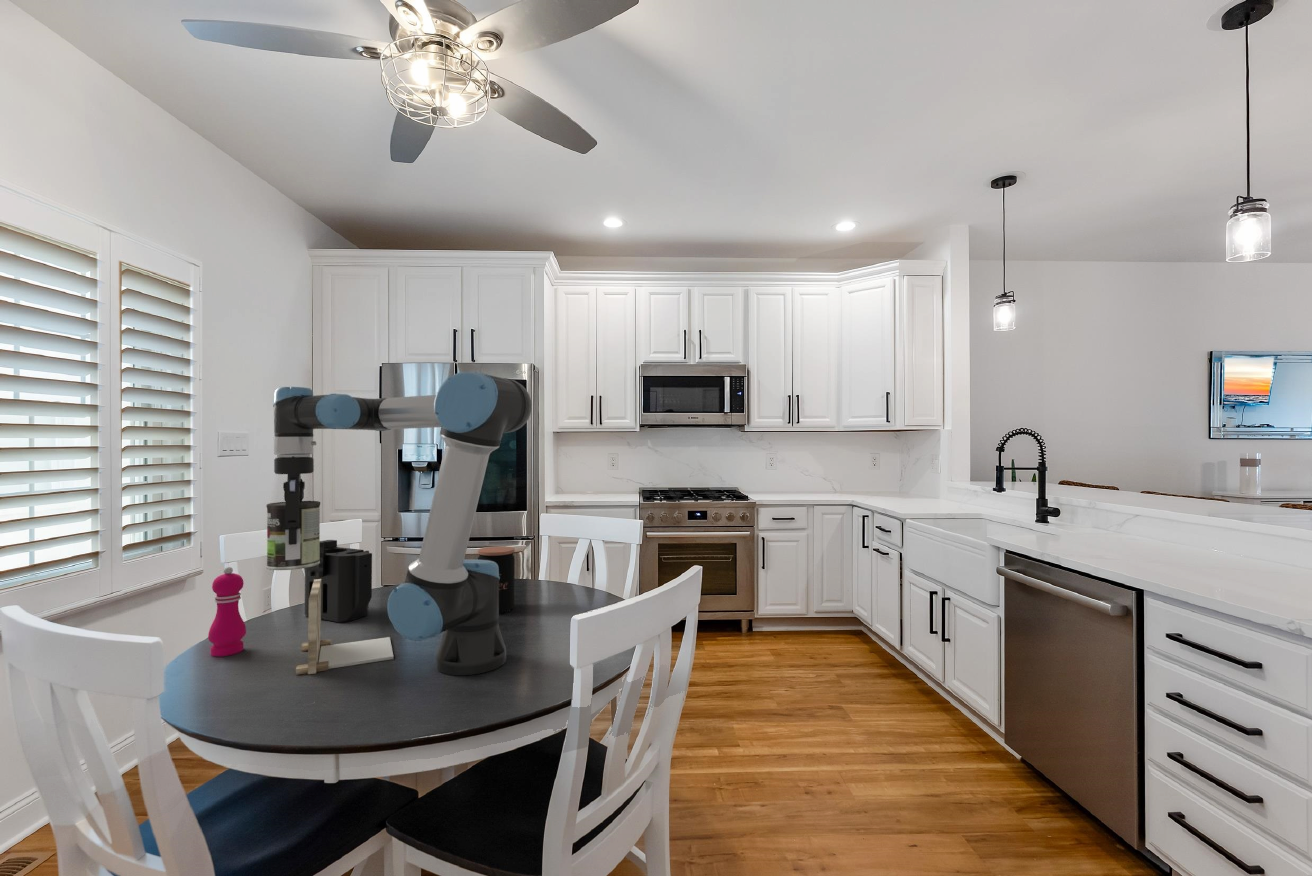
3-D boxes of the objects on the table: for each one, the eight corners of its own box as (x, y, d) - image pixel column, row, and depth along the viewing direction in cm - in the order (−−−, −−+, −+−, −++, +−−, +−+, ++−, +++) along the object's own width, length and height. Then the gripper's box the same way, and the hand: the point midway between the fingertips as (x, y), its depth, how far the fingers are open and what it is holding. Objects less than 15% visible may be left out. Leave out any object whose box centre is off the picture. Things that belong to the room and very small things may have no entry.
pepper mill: (252, 649, 139) (253, 565, 140) (219, 659, 133) (220, 571, 133) (234, 644, 142) (235, 562, 143) (201, 654, 136) (202, 568, 136)
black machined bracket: (329, 607, 175) (329, 534, 175) (379, 615, 167) (380, 538, 167) (291, 618, 164) (291, 540, 164) (343, 627, 156) (343, 545, 156)
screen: (328, 671, 126) (328, 597, 126) (295, 676, 123) (296, 600, 124) (331, 643, 144) (331, 578, 144) (302, 646, 141) (303, 580, 141)
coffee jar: (470, 614, 169) (470, 551, 169) (487, 604, 180) (487, 545, 180) (505, 615, 167) (505, 553, 167) (519, 605, 178) (520, 546, 178)
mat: (393, 658, 134) (393, 656, 134) (317, 670, 127) (317, 667, 127) (389, 639, 147) (389, 636, 147) (321, 648, 140) (321, 646, 140)
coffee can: (274, 572, 124) (274, 505, 124) (260, 566, 130) (260, 503, 131) (327, 564, 131) (327, 502, 131) (311, 559, 138) (311, 499, 138)
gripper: (311, 456, 123) (312, 561, 123) (315, 455, 143) (315, 546, 143) (269, 456, 120) (269, 565, 119) (278, 456, 139) (278, 549, 139)
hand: (294, 555), depth 131 cm, fingers closed on coffee can, 10 cm apart
